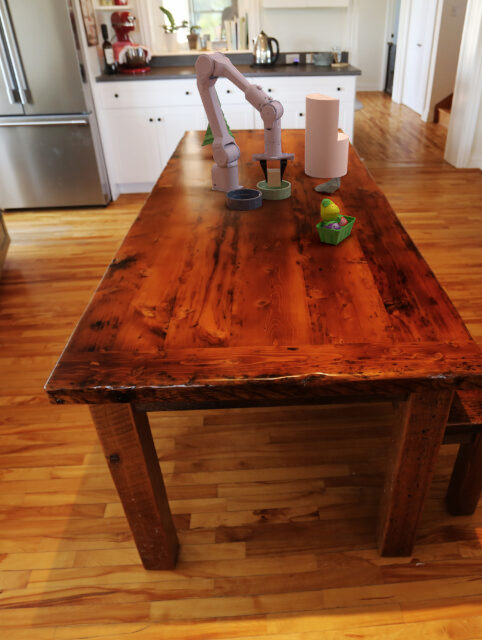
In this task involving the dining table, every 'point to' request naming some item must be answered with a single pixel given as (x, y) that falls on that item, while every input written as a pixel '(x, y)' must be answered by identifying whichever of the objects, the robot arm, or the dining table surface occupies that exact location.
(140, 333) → the dining table surface
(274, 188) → the sage bowl
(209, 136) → the decorative tree
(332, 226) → the fruit basket
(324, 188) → the stone
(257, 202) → the slate bowl
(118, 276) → the dining table surface
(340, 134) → the cylinder
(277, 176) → the block
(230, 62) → the robot arm
